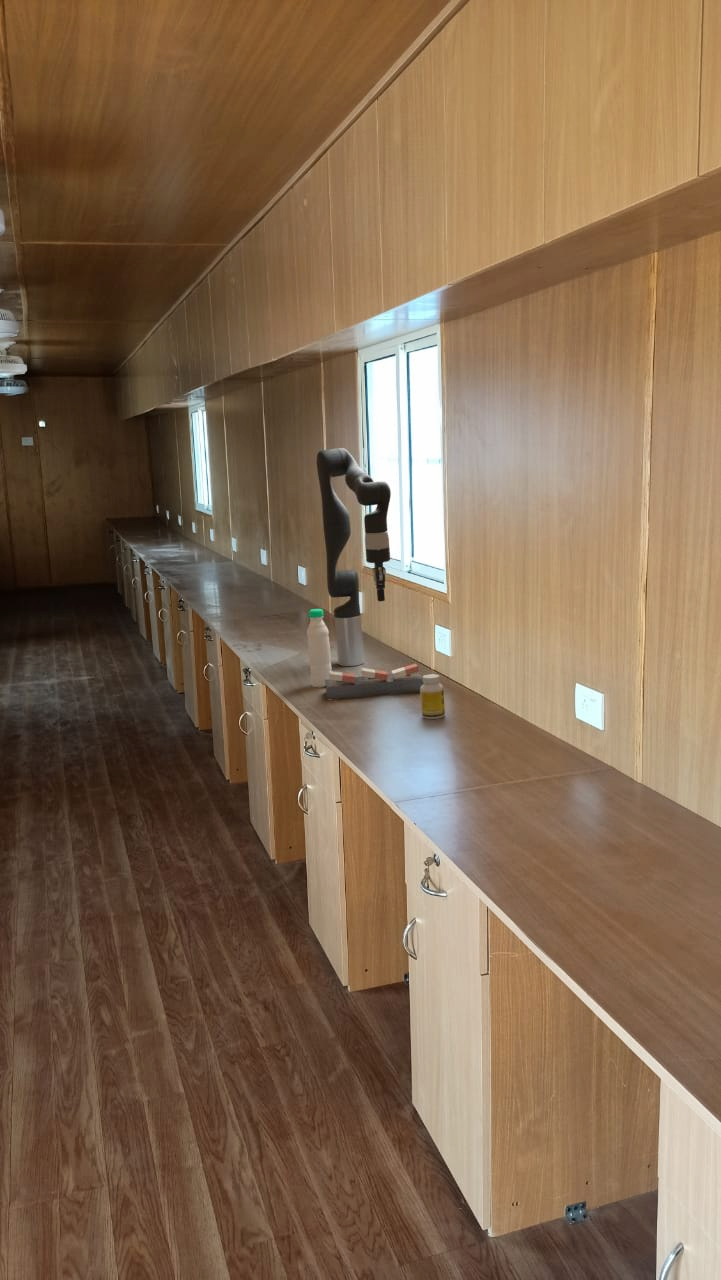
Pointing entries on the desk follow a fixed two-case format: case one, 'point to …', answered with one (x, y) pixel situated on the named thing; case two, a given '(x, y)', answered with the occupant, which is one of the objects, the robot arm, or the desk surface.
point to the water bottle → (318, 649)
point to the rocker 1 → (341, 676)
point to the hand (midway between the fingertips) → (381, 600)
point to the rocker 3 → (405, 671)
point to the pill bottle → (432, 697)
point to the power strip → (373, 686)
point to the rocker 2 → (374, 674)
